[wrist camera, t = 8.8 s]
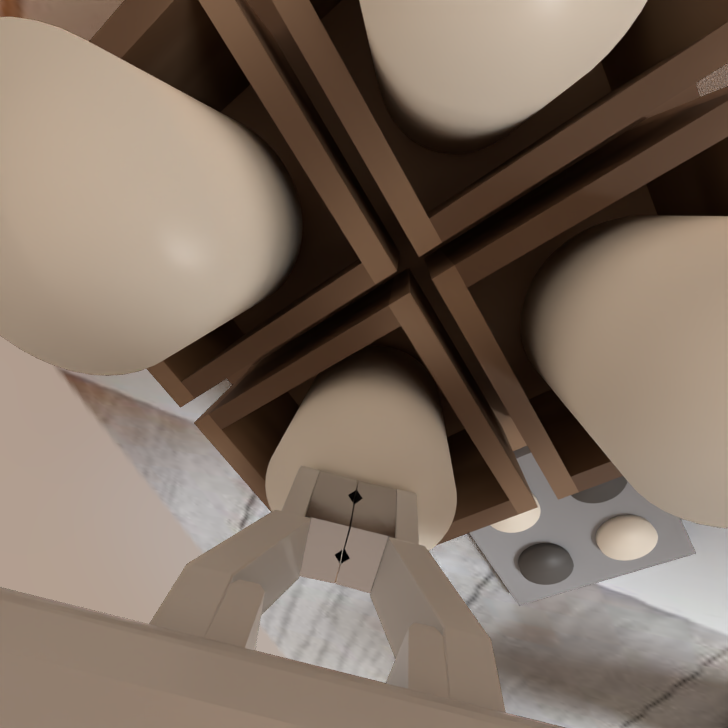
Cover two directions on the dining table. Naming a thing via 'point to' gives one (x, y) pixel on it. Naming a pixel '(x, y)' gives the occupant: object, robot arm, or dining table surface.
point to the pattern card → (578, 537)
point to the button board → (428, 222)
